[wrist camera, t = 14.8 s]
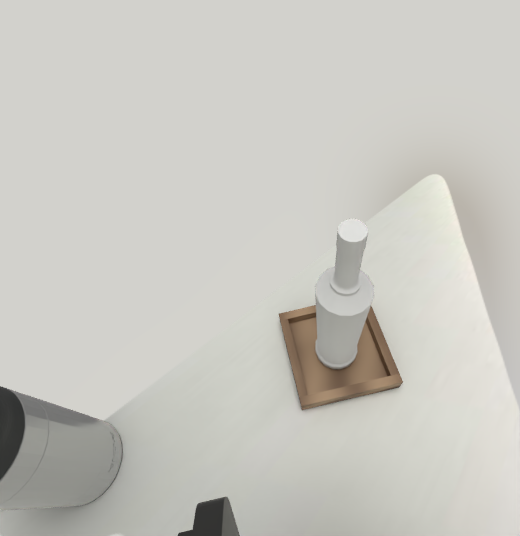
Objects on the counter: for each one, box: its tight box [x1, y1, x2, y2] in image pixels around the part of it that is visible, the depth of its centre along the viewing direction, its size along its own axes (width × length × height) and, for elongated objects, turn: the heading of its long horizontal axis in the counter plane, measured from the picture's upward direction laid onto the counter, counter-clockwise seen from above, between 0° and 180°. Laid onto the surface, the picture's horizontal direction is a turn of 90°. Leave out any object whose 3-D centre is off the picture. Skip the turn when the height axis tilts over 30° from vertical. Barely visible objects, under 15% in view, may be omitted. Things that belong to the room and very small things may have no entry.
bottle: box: [315, 219, 374, 370], centre depth 35 cm, size 5×5×25 cm
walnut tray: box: [279, 305, 403, 410], centre depth 45 cm, size 12×12×2 cm
